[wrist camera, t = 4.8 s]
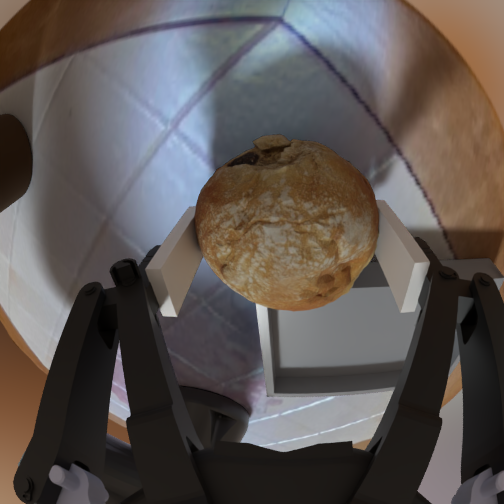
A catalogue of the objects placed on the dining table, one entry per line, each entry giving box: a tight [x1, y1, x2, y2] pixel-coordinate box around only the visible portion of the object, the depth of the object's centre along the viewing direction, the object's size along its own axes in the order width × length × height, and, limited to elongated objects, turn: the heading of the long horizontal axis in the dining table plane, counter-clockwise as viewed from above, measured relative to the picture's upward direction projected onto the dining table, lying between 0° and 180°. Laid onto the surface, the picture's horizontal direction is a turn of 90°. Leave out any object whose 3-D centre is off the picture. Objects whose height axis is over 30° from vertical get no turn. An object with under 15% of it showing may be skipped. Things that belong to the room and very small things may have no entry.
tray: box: [256, 258, 504, 397], centre depth 23 cm, size 22×16×3 cm
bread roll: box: [195, 134, 379, 312], centre depth 15 cm, size 10×10×8 cm
